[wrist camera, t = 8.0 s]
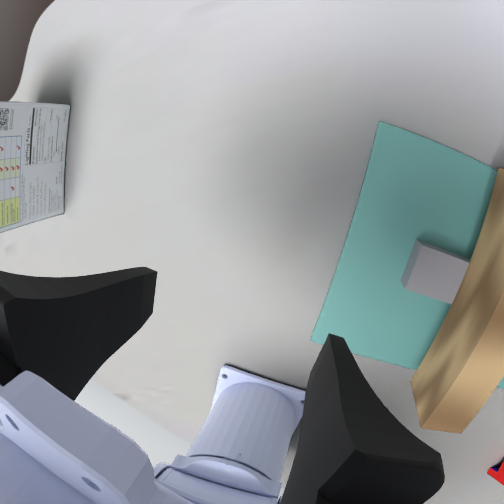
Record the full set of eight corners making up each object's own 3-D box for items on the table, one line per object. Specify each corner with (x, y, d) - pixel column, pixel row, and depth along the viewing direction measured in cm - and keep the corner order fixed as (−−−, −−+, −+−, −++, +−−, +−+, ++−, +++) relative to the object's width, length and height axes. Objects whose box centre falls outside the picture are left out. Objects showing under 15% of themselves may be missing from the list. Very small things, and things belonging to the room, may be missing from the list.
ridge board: (505, 386, 19) (512, 399, 18) (310, 338, 23) (308, 352, 21) (579, 223, 14) (592, 228, 12) (378, 122, 18) (383, 117, 16)
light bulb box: (33, 109, 24) (-51, 109, 14) (73, 103, 23) (-25, 97, 13) (29, 207, 27) (-52, 231, 17) (66, 215, 26) (-26, 245, 16)
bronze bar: (446, 388, 19) (461, 433, 14) (410, 380, 20) (420, 428, 15) (534, 188, 14) (577, 198, 9) (498, 168, 14) (541, 172, 10)
